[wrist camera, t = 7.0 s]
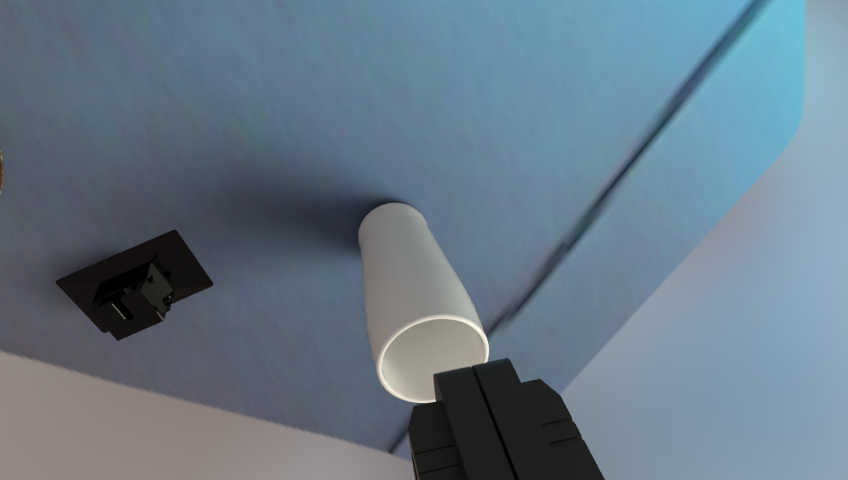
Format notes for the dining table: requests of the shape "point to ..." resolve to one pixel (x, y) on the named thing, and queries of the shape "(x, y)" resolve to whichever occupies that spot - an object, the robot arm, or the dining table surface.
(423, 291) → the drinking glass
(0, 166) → the flask
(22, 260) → the dining table surface
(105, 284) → the black blocky device
